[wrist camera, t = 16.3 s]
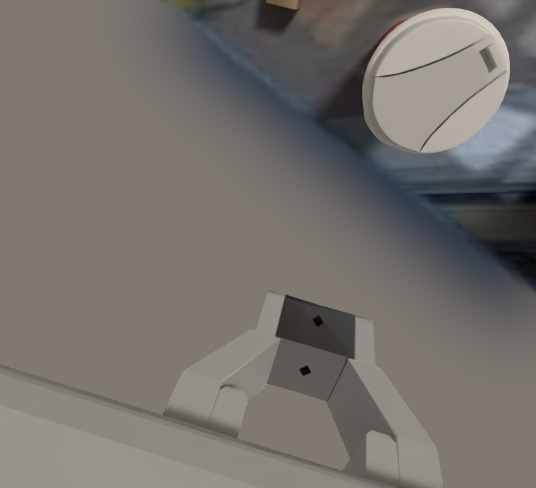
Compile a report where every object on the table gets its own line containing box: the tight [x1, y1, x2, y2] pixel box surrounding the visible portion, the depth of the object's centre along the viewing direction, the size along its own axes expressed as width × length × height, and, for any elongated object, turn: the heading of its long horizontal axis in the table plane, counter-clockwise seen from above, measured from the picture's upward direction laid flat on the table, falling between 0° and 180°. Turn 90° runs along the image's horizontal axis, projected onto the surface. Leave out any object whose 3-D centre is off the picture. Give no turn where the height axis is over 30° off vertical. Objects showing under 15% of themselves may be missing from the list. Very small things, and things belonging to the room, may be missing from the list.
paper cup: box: [362, 8, 510, 154], centre depth 27 cm, size 8×8×14 cm
